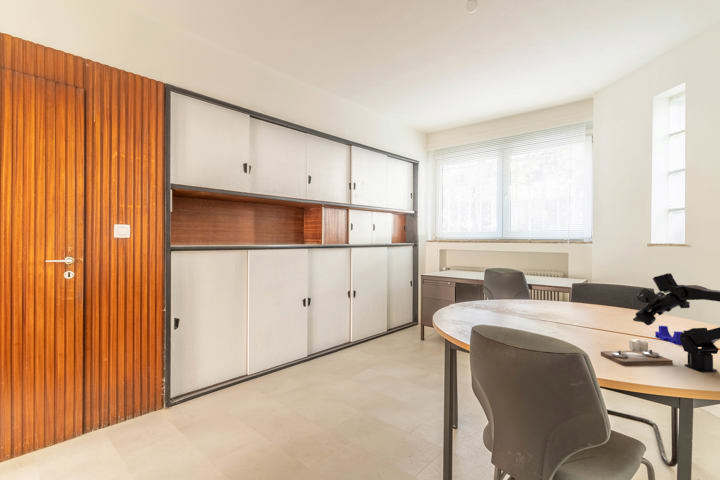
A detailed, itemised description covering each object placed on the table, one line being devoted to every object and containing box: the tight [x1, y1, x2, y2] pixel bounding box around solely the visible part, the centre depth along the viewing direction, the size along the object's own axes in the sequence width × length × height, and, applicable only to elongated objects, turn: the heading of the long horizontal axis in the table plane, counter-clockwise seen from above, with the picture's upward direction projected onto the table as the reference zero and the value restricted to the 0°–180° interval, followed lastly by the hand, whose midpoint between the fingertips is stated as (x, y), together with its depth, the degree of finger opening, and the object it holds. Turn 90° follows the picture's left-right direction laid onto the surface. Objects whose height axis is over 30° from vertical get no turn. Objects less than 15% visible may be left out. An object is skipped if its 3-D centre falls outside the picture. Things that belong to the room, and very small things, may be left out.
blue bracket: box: [654, 325, 684, 346], centre depth 162 cm, size 12×4×6 cm, turn 169°
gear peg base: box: [611, 349, 660, 358], centre depth 138 cm, size 5×18×2 cm, turn 91°
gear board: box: [600, 350, 674, 366], centre depth 138 cm, size 12×20×2 cm, turn 91°
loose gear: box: [628, 338, 649, 351], centre depth 150 cm, size 6×6×4 cm
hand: (639, 314), depth 152 cm, fingers open, 9 cm apart
